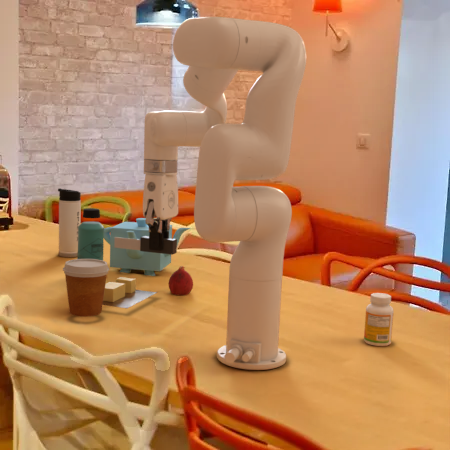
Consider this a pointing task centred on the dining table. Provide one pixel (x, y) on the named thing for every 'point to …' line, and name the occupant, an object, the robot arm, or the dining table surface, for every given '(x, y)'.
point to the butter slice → (128, 284)
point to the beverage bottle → (90, 236)
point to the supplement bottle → (379, 320)
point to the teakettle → (137, 258)
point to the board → (130, 299)
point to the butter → (114, 291)
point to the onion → (180, 282)
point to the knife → (146, 245)
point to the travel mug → (69, 222)
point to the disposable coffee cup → (85, 285)
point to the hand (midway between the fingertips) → (158, 248)
